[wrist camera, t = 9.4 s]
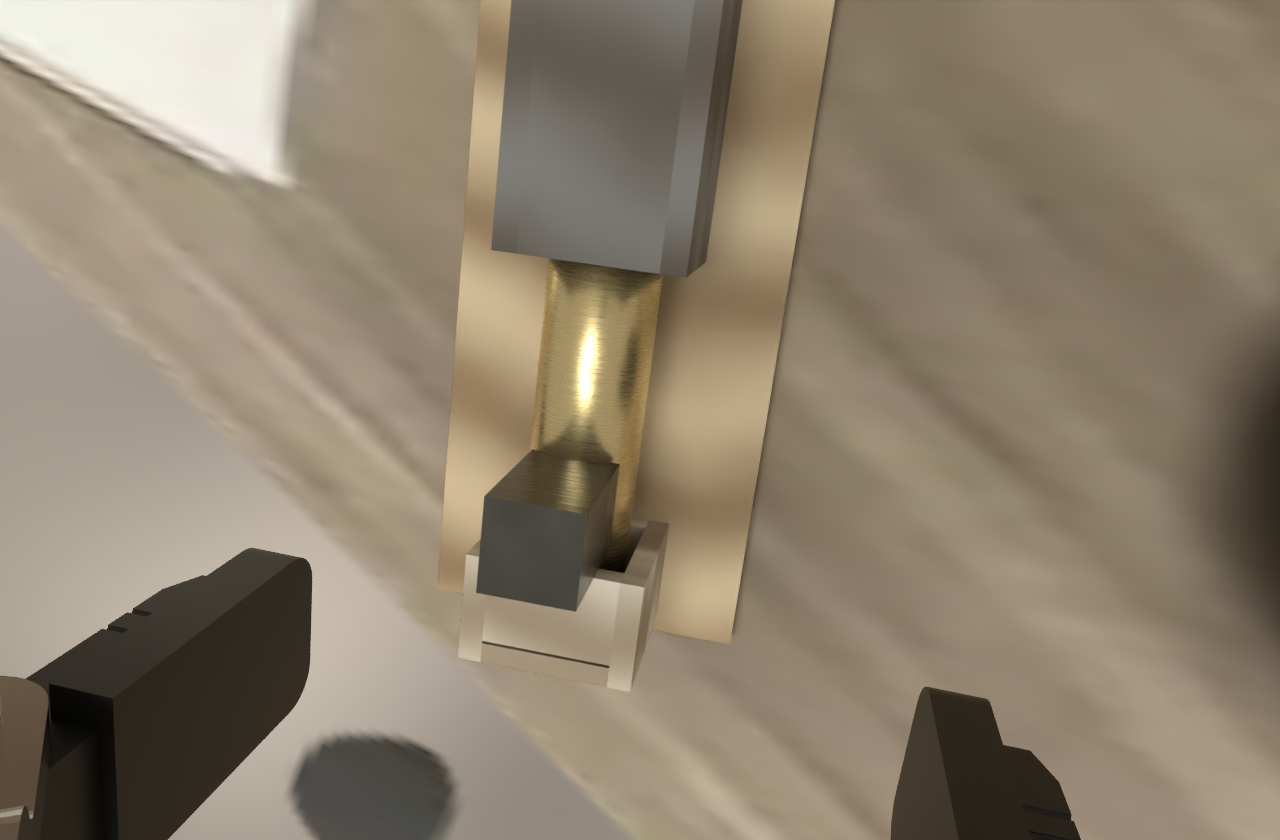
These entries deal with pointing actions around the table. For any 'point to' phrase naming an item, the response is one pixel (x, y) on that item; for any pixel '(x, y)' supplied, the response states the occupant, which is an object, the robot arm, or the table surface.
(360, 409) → the table surface
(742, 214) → the tube stand
